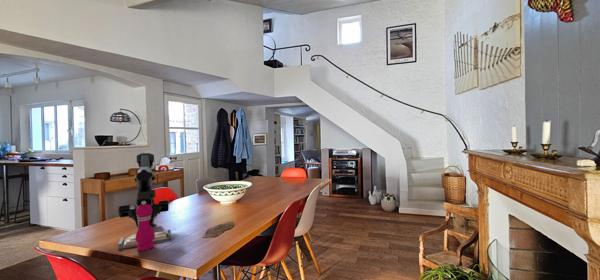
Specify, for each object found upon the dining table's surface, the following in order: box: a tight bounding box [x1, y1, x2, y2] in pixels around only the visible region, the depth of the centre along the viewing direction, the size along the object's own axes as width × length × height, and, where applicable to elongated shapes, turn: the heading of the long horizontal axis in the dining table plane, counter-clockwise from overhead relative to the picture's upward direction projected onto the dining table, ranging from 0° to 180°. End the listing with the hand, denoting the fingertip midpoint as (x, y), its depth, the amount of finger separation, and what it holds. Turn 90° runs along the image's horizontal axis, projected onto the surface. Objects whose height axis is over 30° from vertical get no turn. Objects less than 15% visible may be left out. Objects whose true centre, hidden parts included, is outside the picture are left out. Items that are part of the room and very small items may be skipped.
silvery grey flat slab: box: [118, 229, 172, 250], centre depth 121 cm, size 8×20×2 cm, turn 118°
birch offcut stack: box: [124, 230, 167, 246], centre depth 121 cm, size 8×16×2 cm, turn 118°
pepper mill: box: [135, 201, 156, 251], centre depth 114 cm, size 7×7×20 cm
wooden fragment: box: [202, 220, 236, 239], centre depth 136 cm, size 26×11×1 cm, turn 161°
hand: (144, 225), depth 113 cm, fingers closed on pepper mill, 5 cm apart
